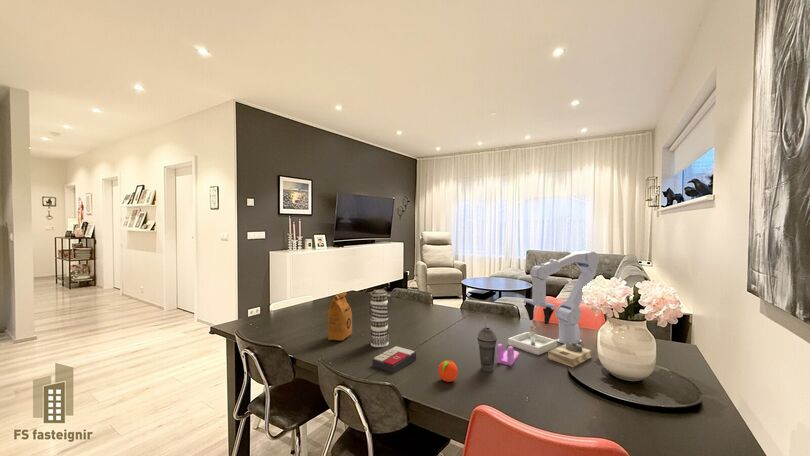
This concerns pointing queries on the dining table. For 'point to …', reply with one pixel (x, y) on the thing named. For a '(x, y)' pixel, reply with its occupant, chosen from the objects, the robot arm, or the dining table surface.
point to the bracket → (506, 355)
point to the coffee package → (339, 318)
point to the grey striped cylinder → (379, 318)
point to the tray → (524, 344)
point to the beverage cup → (487, 347)
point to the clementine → (448, 371)
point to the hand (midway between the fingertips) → (538, 321)
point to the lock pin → (532, 335)
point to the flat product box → (394, 359)
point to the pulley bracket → (569, 354)
